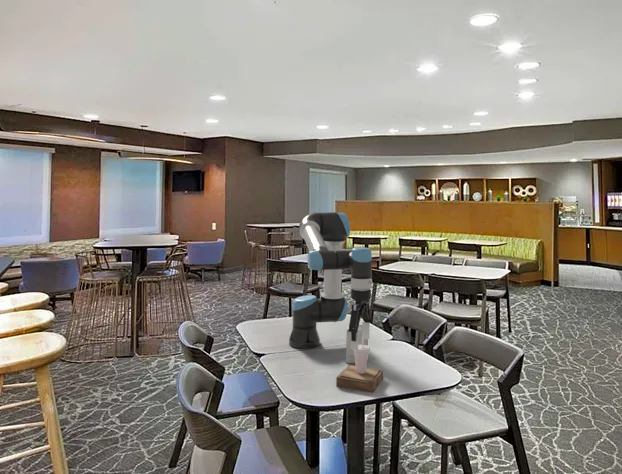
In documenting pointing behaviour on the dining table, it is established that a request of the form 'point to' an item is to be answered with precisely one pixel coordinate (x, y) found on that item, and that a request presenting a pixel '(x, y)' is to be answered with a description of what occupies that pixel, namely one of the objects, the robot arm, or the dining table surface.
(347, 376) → the walnut tray
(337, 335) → the dining table surface
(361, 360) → the smoothie
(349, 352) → the supplement box
